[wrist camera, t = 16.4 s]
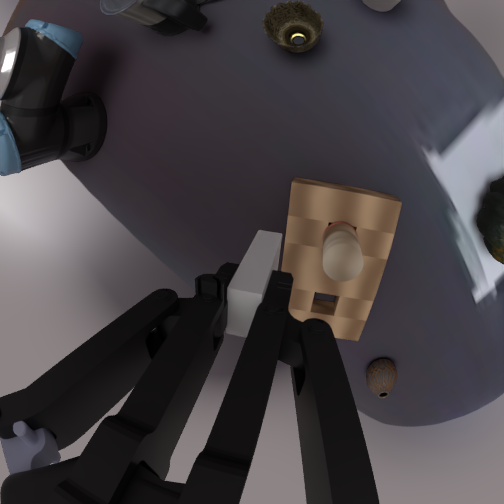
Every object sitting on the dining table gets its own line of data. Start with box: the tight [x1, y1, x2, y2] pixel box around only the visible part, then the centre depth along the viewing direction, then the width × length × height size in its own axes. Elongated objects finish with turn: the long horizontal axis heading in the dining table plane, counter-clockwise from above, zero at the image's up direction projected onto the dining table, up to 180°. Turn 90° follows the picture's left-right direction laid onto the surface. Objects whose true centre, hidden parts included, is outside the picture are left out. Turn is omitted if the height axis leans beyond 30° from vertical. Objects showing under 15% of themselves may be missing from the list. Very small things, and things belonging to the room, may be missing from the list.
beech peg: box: [323, 221, 364, 282], centre depth 36 cm, size 5×5×12 cm
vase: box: [366, 359, 397, 398], centre depth 48 cm, size 7×7×9 cm
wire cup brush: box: [262, 0, 324, 52], centre depth 27 cm, size 8×7×8 cm
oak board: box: [281, 177, 402, 341], centre depth 42 cm, size 16×26×4 cm, turn 176°
